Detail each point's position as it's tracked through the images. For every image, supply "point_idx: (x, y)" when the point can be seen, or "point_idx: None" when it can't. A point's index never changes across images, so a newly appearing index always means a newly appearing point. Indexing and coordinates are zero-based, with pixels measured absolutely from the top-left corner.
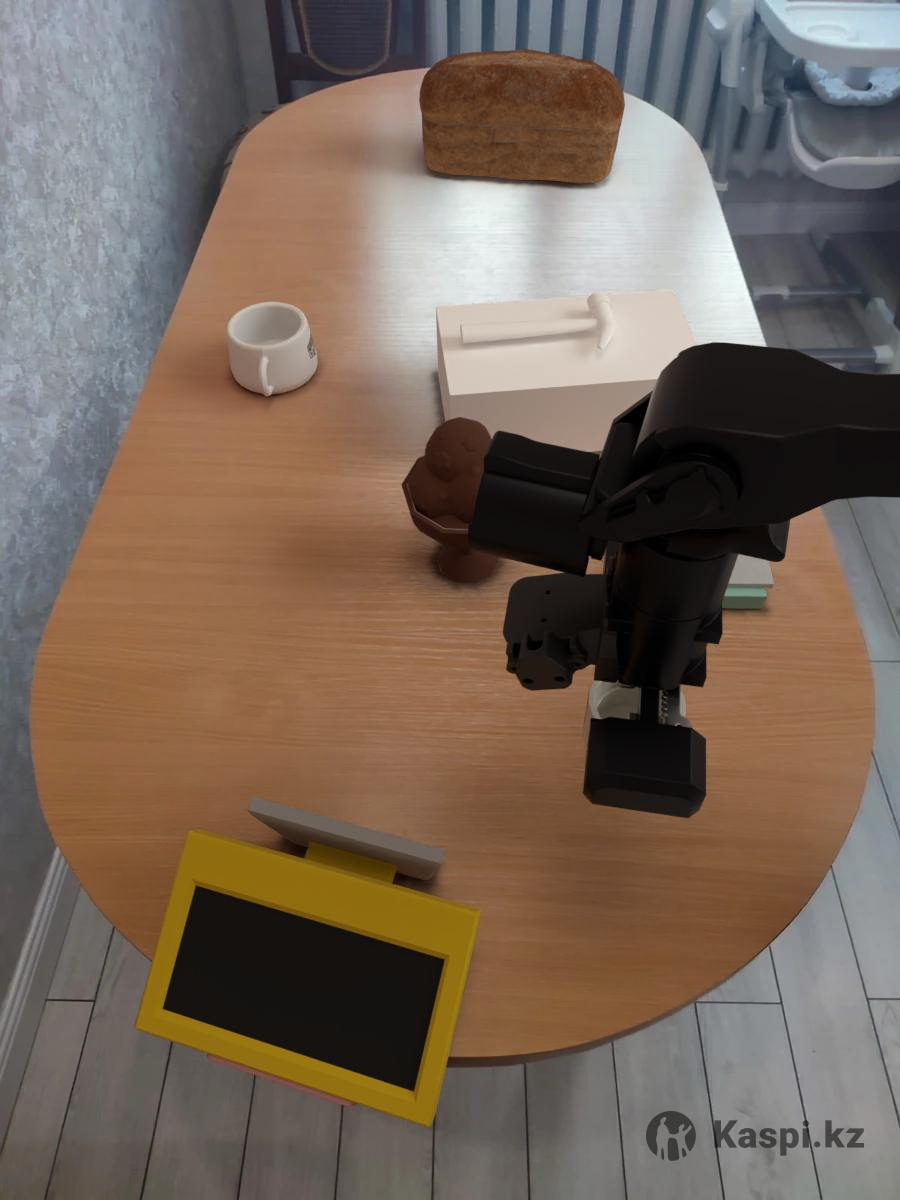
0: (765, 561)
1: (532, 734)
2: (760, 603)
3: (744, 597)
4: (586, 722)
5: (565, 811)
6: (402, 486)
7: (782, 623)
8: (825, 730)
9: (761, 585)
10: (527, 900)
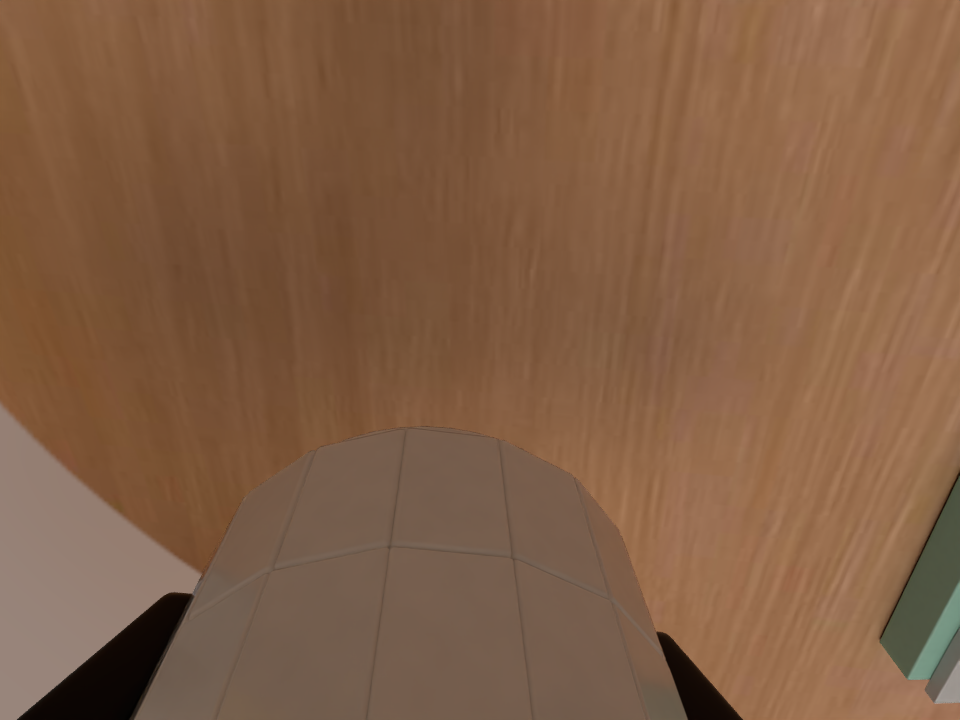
0: None
1: (655, 129)
2: (893, 652)
3: (920, 644)
4: (367, 551)
5: (412, 214)
6: None
7: (834, 663)
8: None
9: (939, 681)
10: (137, 91)
